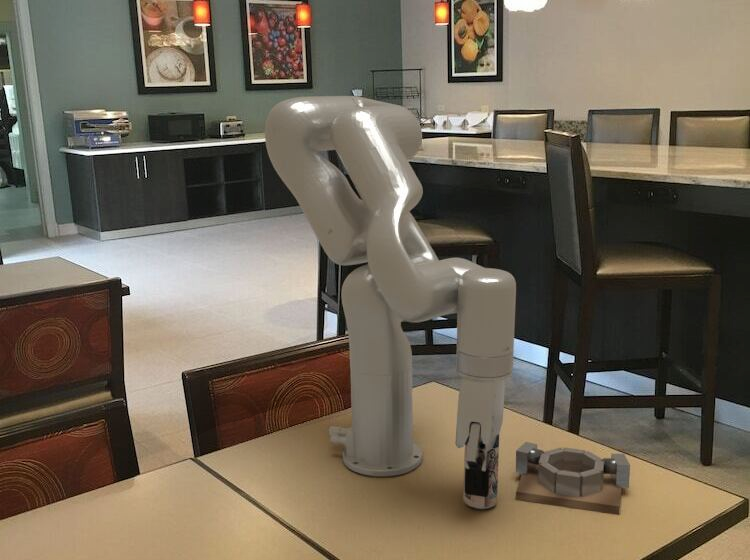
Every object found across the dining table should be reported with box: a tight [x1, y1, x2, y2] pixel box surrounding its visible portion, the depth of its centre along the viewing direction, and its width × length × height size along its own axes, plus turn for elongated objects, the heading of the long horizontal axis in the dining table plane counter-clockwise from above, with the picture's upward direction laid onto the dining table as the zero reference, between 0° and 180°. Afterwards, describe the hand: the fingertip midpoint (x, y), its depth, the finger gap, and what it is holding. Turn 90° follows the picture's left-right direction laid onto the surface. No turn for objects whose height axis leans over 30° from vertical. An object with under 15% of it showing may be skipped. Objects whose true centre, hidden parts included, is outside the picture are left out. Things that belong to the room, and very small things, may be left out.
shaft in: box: [515, 441, 545, 475], centre depth 117 cm, size 3×4×4 cm
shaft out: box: [602, 453, 631, 489], centre depth 114 cm, size 3×4×4 cm
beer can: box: [462, 429, 501, 510], centre depth 109 cm, size 5×5×12 cm
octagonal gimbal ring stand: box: [515, 447, 622, 515], centre depth 114 cm, size 14×11×4 cm
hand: (480, 483), depth 110 cm, fingers closed on beer can, 4 cm apart
